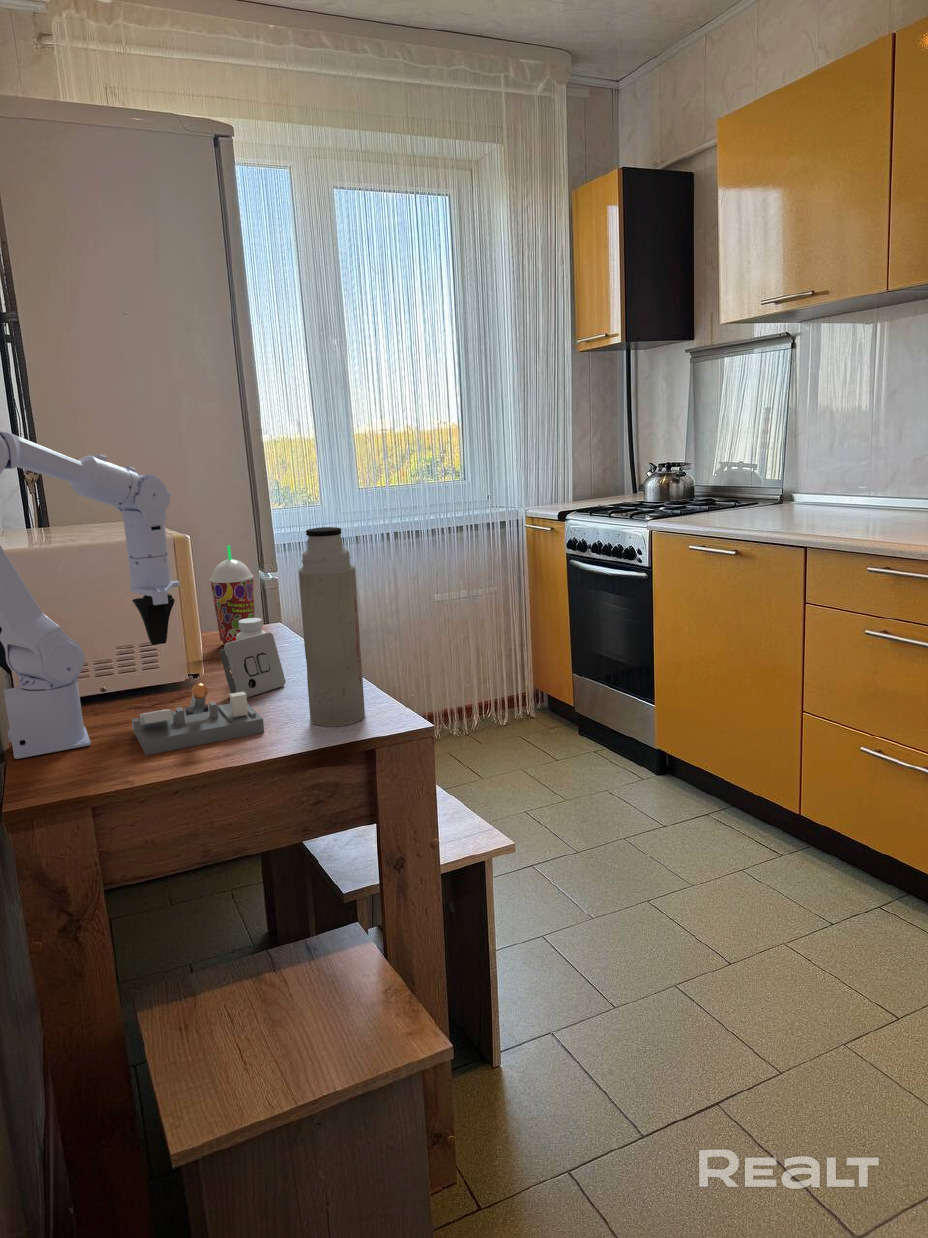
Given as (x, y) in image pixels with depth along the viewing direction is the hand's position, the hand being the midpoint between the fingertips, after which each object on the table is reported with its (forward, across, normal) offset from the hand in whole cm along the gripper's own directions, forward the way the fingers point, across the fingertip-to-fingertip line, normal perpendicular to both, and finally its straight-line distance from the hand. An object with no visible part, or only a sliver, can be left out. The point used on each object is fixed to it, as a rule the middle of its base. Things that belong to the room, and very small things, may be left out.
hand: (158, 643), depth 134 cm
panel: (+10, -15, -2) cm, 18 cm away
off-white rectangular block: (+8, -17, -7) cm, 20 cm away
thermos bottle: (+11, -20, -21) cm, 31 cm away
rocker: (+7, -15, +4) cm, 17 cm away
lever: (+7, -15, -2) cm, 17 cm away
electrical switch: (+11, +1, -14) cm, 18 cm away
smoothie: (+11, +35, -20) cm, 42 cm away
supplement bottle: (+11, +11, -17) cm, 23 cm away
